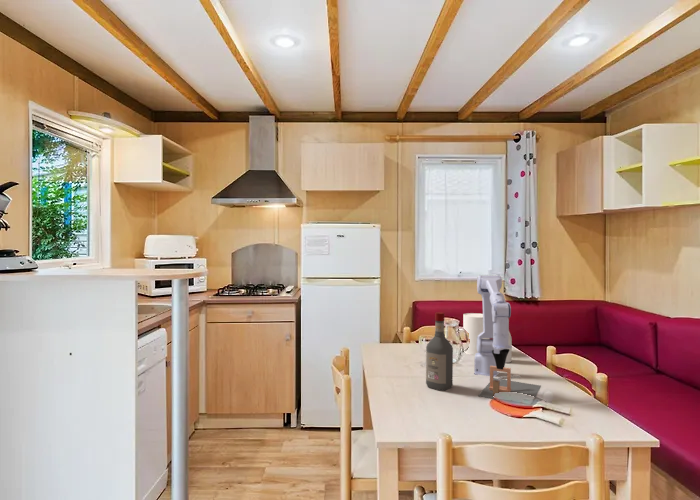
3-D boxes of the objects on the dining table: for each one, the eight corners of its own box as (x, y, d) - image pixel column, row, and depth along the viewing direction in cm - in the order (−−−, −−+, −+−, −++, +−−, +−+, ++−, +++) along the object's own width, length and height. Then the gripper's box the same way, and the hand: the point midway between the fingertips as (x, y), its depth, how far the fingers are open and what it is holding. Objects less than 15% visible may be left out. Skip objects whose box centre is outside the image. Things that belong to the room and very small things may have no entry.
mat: (478, 396, 166) (478, 395, 166) (493, 378, 188) (493, 378, 188) (531, 406, 157) (531, 404, 157) (541, 386, 178) (541, 385, 178)
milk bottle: (513, 360, 218) (513, 320, 218) (509, 364, 211) (509, 322, 211) (497, 358, 222) (497, 319, 222) (493, 361, 215) (493, 321, 215)
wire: (492, 396, 166) (493, 381, 166) (501, 384, 179) (501, 371, 179) (512, 399, 162) (513, 384, 162) (520, 387, 175) (520, 373, 175)
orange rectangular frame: (509, 393, 168) (509, 369, 168) (489, 390, 172) (489, 367, 172) (511, 390, 172) (511, 367, 172) (491, 387, 176) (491, 364, 176)
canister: (458, 352, 234) (458, 315, 234) (471, 348, 243) (472, 312, 243) (480, 357, 224) (481, 318, 224) (494, 352, 233) (494, 315, 233)
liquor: (443, 392, 171) (443, 315, 171) (423, 386, 177) (423, 312, 177) (454, 386, 178) (455, 312, 177) (435, 381, 184) (435, 310, 184)
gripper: (507, 338, 163) (507, 374, 164) (515, 331, 176) (514, 365, 176) (488, 336, 167) (488, 371, 167) (497, 329, 179) (496, 362, 180)
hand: (500, 368), depth 172 cm, fingers closed on orange rectangular frame, 2 cm apart
